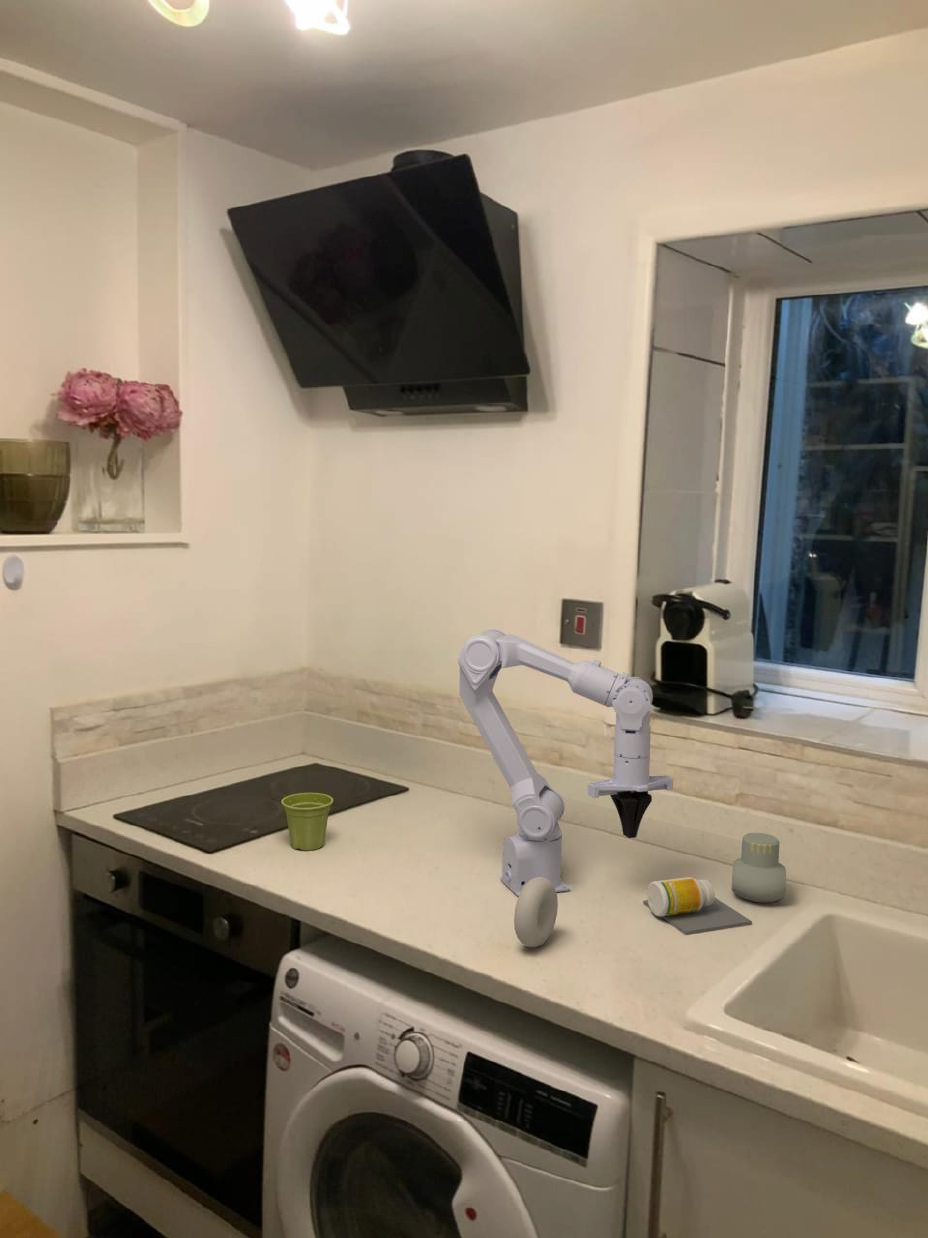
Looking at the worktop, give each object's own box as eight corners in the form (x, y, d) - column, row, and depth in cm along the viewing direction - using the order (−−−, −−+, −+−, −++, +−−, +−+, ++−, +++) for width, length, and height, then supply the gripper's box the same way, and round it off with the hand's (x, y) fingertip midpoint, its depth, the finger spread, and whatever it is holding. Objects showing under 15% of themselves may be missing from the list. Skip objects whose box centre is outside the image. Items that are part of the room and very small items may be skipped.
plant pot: (288, 857, 173) (288, 810, 172) (276, 840, 182) (276, 795, 181) (339, 851, 177) (339, 804, 176) (324, 834, 185) (325, 790, 184)
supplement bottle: (645, 878, 153) (697, 871, 157) (646, 912, 153) (698, 905, 156) (663, 886, 148) (717, 879, 152) (664, 921, 148) (718, 913, 151)
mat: (685, 935, 146) (685, 931, 146) (643, 903, 157) (643, 900, 157) (751, 924, 150) (752, 921, 150) (706, 894, 161) (706, 891, 161)
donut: (539, 929, 146) (542, 865, 145) (560, 935, 144) (563, 870, 143) (508, 955, 138) (510, 887, 137) (530, 961, 136) (532, 892, 135)
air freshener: (785, 912, 155) (789, 852, 154) (731, 905, 157) (735, 846, 156) (782, 887, 165) (785, 830, 164) (731, 881, 167) (735, 825, 166)
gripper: (603, 764, 150) (601, 848, 152) (684, 756, 155) (681, 839, 157) (582, 753, 157) (581, 834, 158) (661, 746, 162) (659, 825, 163)
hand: (629, 836), depth 158 cm, fingers closed
